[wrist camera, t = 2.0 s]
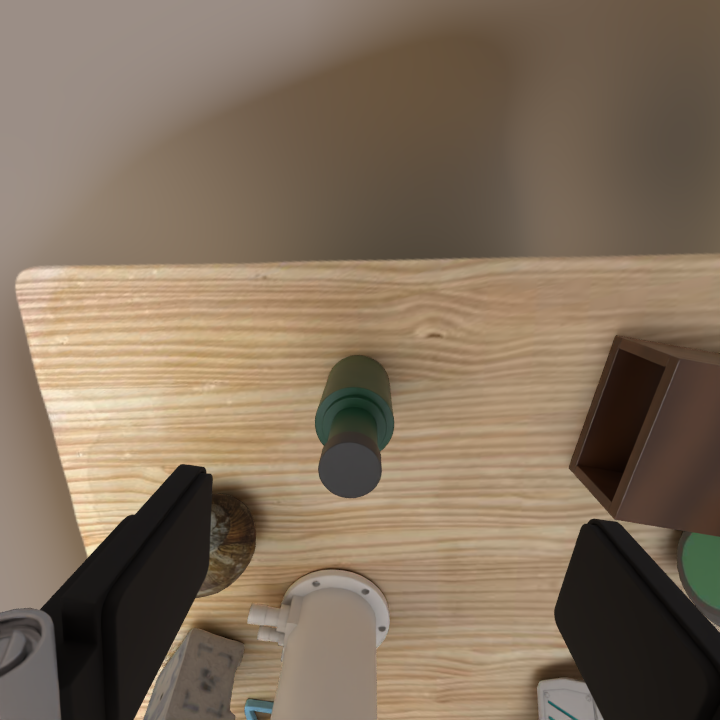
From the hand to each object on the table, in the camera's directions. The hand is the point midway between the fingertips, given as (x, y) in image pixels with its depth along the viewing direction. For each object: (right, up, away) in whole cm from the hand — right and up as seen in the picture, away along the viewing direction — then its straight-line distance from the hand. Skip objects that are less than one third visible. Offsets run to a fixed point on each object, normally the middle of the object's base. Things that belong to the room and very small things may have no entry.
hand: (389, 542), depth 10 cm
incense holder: (-19, -32, +39) cm, 54 cm away
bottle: (-1, +2, +29) cm, 29 cm away
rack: (+27, -1, +29) cm, 40 cm away
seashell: (-17, -13, +34) cm, 40 cm away
